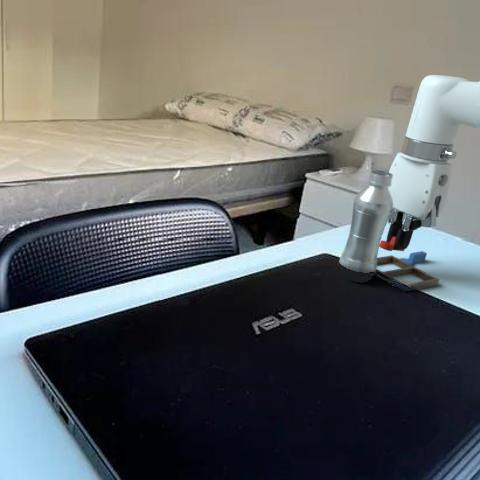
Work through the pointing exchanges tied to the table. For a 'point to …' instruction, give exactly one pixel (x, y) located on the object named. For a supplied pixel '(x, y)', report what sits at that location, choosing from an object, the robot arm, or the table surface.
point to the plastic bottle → (368, 223)
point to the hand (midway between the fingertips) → (396, 246)
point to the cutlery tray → (405, 270)
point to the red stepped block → (389, 244)
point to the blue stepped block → (415, 257)
